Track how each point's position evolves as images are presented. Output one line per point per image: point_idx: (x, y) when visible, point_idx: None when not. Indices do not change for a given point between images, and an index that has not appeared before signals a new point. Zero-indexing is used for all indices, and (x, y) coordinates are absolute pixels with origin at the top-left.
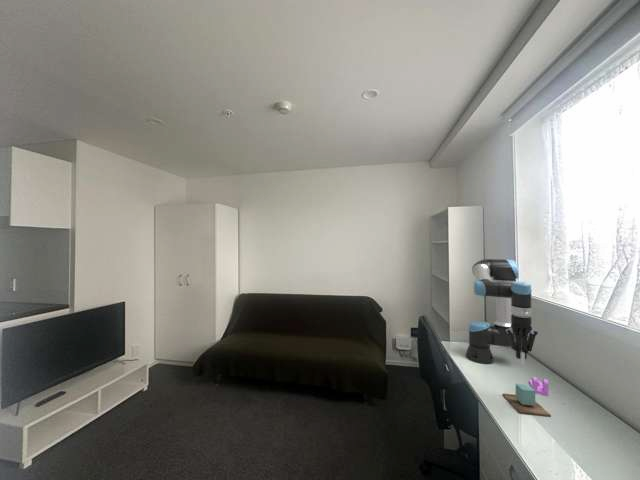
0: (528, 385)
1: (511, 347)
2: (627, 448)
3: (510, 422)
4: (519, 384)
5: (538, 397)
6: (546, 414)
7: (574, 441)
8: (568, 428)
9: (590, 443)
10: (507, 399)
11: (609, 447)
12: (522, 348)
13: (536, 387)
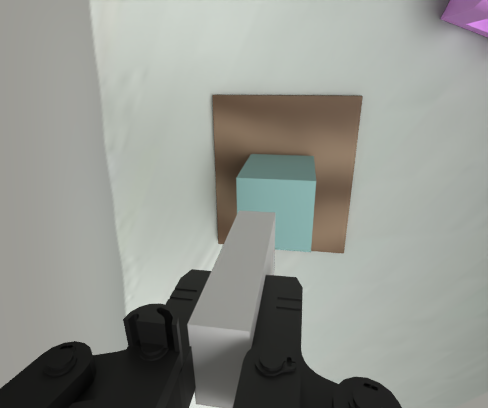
0: (312, 192)
1: (38, 372)
2: (478, 382)
3: (159, 288)
4: (256, 186)
5: (421, 82)
6: (326, 251)
7: (318, 358)
8: (356, 307)
9: (366, 365)
10: (215, 146)
11: (415, 378)
12: (252, 400)
13: (470, 20)
